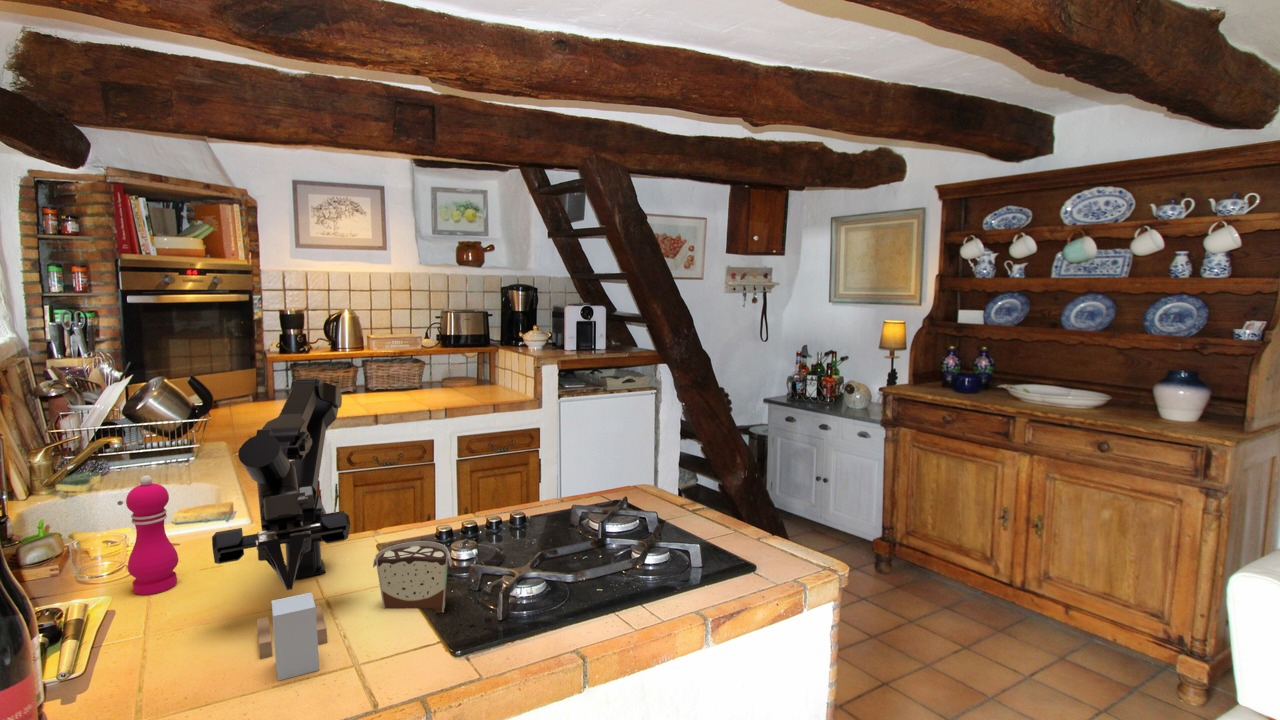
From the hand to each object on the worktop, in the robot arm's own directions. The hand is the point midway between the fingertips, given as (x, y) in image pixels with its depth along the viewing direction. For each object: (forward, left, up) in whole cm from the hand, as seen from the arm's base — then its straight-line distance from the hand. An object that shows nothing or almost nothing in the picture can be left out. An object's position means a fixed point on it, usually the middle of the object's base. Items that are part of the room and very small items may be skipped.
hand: (289, 588), depth 104 cm
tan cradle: (+6, 0, -8) cm, 10 cm away
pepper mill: (-31, -19, -8) cm, 37 cm away
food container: (-1, +19, -8) cm, 20 cm away
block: (+11, 0, -7) cm, 13 cm away
